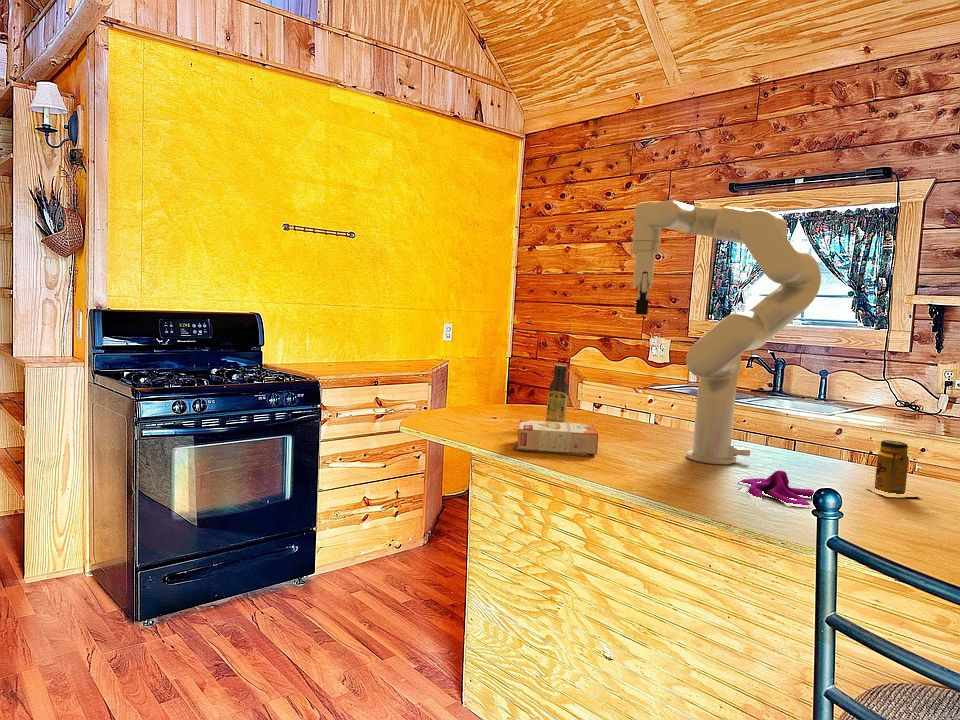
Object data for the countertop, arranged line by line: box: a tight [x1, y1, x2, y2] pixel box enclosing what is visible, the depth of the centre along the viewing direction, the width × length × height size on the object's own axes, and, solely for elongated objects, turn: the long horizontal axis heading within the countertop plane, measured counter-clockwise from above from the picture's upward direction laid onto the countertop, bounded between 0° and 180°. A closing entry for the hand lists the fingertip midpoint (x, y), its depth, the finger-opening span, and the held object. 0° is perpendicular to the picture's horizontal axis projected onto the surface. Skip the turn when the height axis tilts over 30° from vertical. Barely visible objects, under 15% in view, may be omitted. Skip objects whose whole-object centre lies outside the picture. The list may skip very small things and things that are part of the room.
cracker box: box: [517, 419, 599, 455], centre depth 187 cm, size 14×6×21 cm
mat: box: [512, 441, 591, 458], centre depth 189 cm, size 20×16×1 cm
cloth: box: [739, 469, 815, 509], centre depth 151 cm, size 22×19×6 cm
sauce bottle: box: [545, 364, 569, 423], centre depth 215 cm, size 7×6×20 cm
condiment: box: [874, 439, 910, 494], centre depth 156 cm, size 7×8×12 cm
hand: (641, 314), depth 195 cm, fingers closed
